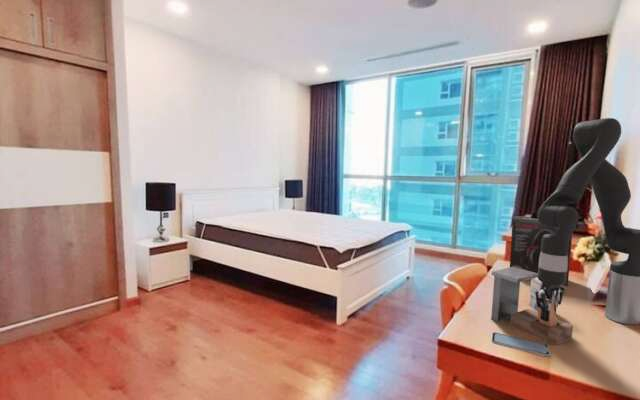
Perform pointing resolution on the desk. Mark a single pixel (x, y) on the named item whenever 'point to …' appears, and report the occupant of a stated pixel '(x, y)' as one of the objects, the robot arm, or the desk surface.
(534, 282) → the ink box
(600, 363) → the desk surface
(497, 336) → the smartphone
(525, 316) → the socket block
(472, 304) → the desk surface
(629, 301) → the robot arm
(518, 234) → the headset box
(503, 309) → the panel
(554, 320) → the peg
